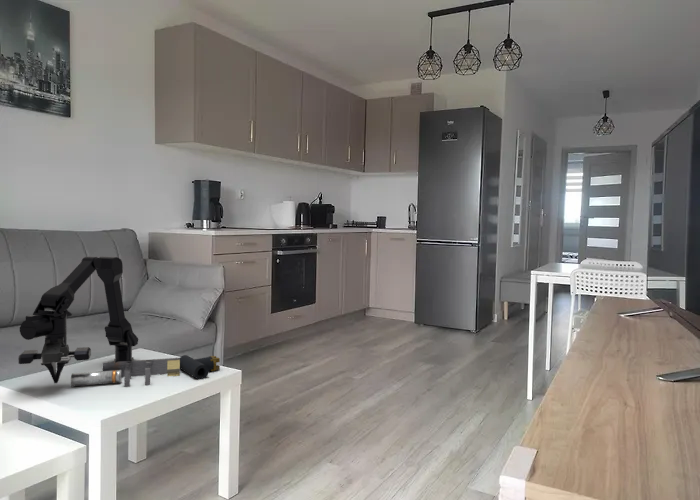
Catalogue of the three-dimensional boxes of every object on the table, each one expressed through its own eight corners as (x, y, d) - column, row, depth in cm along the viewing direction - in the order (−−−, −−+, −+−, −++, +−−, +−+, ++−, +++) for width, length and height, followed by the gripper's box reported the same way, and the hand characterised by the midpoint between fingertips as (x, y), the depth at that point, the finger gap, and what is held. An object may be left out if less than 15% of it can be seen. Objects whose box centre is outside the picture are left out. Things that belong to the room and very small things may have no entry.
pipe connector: (208, 350, 185) (226, 359, 174) (208, 365, 186) (226, 375, 174) (177, 356, 178) (194, 365, 166) (177, 370, 178) (194, 381, 167)
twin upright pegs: (126, 377, 167) (126, 362, 167) (150, 376, 170) (150, 361, 170) (124, 386, 158) (124, 370, 158) (150, 384, 161) (150, 369, 161)
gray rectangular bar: (102, 377, 167) (102, 362, 167) (179, 371, 175) (179, 357, 175) (101, 381, 163) (101, 366, 163) (179, 375, 171) (180, 360, 171)
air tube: (70, 388, 156) (70, 375, 155) (72, 384, 159) (72, 371, 159) (120, 384, 160) (120, 371, 160) (121, 380, 164) (121, 368, 164)
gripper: (13, 340, 144) (13, 394, 145) (86, 336, 151) (86, 388, 152) (23, 332, 155) (23, 382, 156) (91, 329, 161) (91, 377, 162)
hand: (56, 382), depth 156 cm, fingers closed
